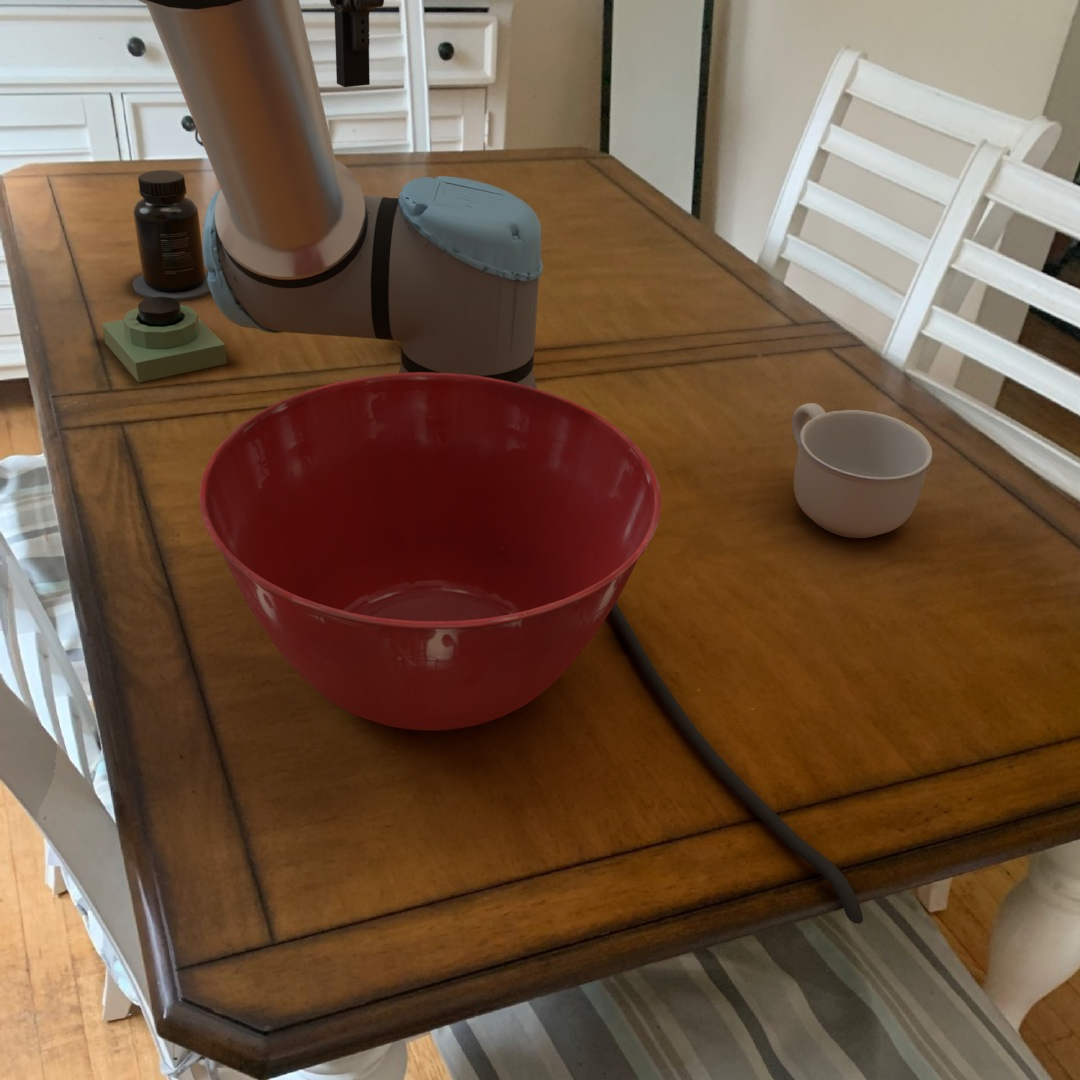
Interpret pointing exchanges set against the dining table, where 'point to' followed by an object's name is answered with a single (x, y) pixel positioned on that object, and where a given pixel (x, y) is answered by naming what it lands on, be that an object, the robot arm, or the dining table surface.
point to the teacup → (857, 469)
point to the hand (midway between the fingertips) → (353, 83)
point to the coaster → (148, 292)
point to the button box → (164, 346)
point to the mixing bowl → (430, 539)
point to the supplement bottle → (168, 233)
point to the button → (159, 312)
